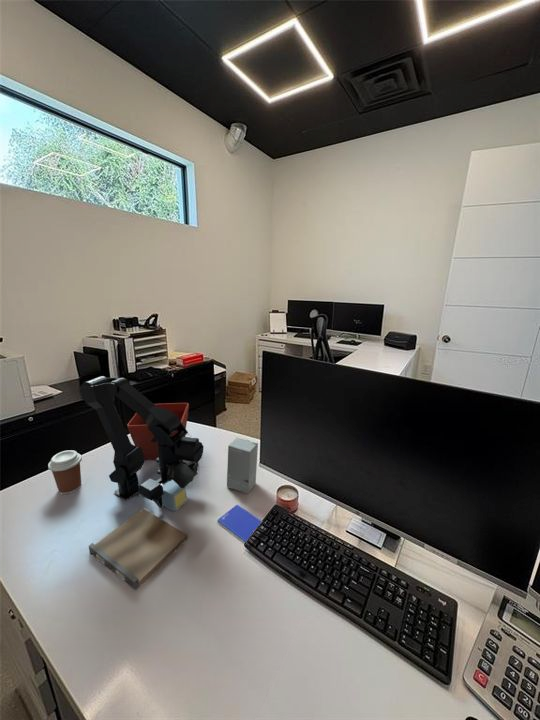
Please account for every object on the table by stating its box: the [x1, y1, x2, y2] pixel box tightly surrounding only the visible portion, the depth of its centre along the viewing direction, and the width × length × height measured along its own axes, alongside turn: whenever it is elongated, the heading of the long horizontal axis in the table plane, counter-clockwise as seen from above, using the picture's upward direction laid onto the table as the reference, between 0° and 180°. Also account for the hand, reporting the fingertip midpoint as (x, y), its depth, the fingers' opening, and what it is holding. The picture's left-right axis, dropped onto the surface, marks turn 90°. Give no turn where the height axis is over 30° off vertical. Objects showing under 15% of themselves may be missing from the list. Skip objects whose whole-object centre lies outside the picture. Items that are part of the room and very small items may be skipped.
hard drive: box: [216, 504, 262, 544], centre depth 85 cm, size 2×8×12 cm
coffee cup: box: [47, 449, 83, 495], centre depth 97 cm, size 9×9×12 cm
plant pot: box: [127, 402, 190, 461], centre depth 118 cm, size 19×19×17 cm
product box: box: [162, 479, 188, 512], centre depth 92 cm, size 7×5×6 cm
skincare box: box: [226, 437, 259, 494], centre depth 99 cm, size 8×7×16 cm
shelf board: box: [88, 508, 189, 591], centre depth 77 cm, size 18×16×2 cm
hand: (172, 498), depth 93 cm, fingers open, 9 cm apart
